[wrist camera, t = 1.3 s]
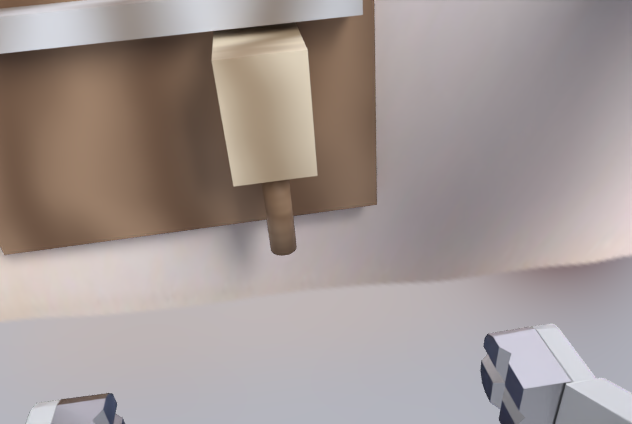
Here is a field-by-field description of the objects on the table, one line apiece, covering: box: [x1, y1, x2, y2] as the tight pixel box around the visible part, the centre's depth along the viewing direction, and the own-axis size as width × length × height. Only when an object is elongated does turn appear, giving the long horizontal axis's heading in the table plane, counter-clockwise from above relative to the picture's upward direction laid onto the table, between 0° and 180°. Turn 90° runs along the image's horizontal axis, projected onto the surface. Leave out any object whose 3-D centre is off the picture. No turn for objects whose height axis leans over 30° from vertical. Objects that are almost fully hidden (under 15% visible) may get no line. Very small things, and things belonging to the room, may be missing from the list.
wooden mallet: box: [212, 22, 318, 255], centre depth 28 cm, size 4×11×5 cm, turn 4°
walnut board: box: [0, 0, 377, 255], centre depth 29 cm, size 22×14×4 cm, turn 94°
